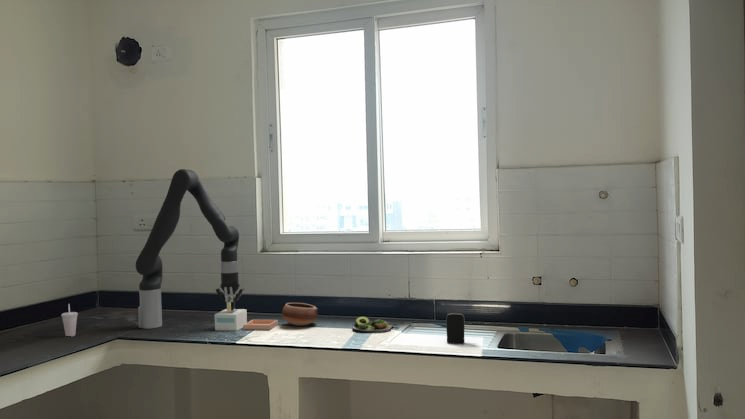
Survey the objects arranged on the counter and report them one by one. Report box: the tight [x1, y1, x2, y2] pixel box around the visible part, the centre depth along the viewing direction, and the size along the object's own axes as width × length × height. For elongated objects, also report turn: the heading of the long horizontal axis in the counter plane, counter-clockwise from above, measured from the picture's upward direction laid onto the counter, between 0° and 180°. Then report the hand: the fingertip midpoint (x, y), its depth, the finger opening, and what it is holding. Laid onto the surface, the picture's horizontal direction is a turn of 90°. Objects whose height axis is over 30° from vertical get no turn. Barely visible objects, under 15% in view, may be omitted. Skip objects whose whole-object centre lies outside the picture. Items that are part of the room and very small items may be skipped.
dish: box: [242, 319, 279, 331], centre depth 268 cm, size 12×11×2 cm
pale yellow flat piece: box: [227, 300, 236, 313], centre depth 269 cm, size 1×5×9 cm, turn 170°
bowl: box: [281, 302, 318, 327], centre depth 270 cm, size 16×16×10 cm
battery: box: [445, 312, 466, 344], centre depth 233 cm, size 7×4×11 cm, turn 78°
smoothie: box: [60, 303, 79, 337], centre depth 261 cm, size 6×6×14 cm
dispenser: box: [214, 308, 248, 332], centre depth 269 cm, size 10×12×7 cm
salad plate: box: [351, 316, 399, 334], centre depth 261 cm, size 19×18×5 cm
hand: (230, 309), depth 269 cm, fingers closed on pale yellow flat piece, 1 cm apart
